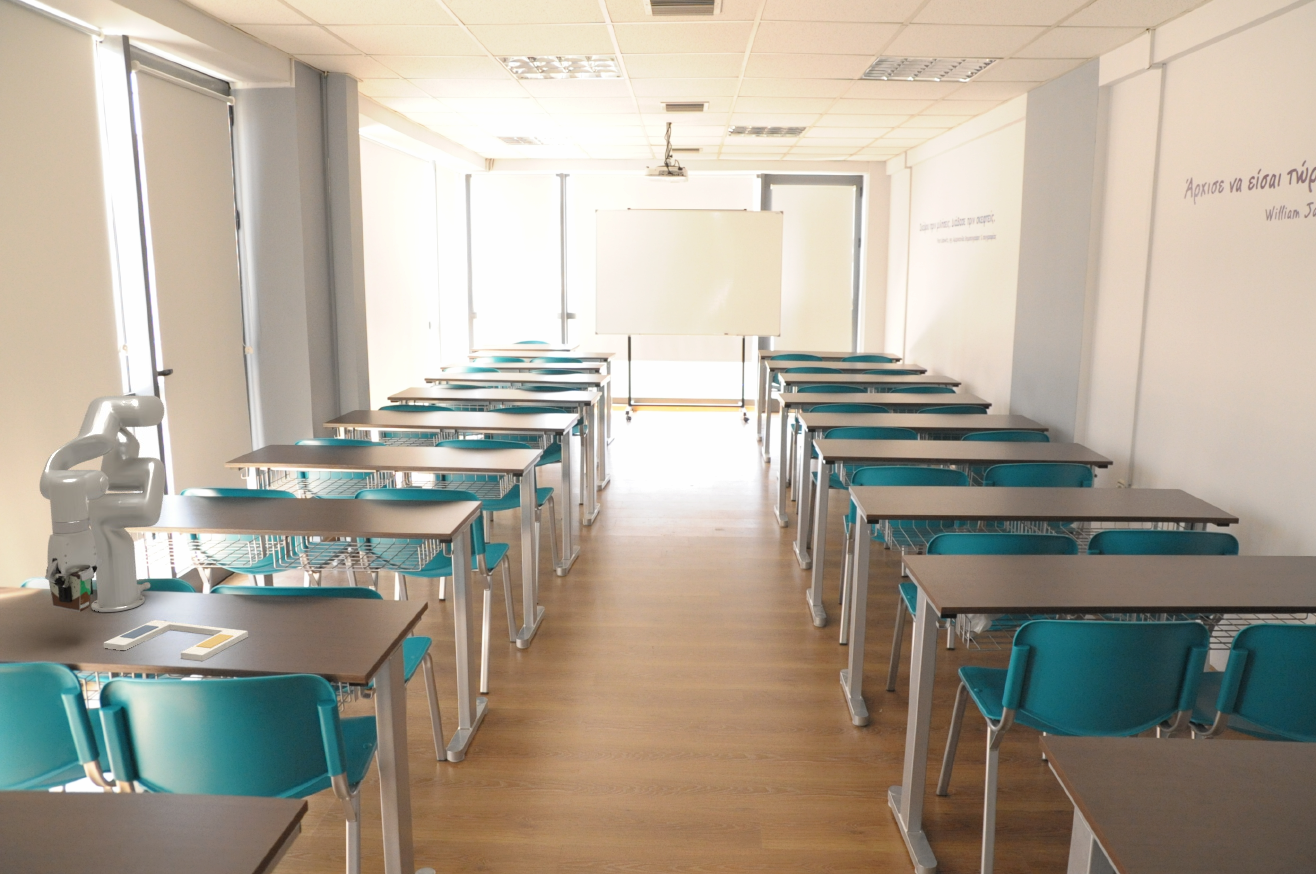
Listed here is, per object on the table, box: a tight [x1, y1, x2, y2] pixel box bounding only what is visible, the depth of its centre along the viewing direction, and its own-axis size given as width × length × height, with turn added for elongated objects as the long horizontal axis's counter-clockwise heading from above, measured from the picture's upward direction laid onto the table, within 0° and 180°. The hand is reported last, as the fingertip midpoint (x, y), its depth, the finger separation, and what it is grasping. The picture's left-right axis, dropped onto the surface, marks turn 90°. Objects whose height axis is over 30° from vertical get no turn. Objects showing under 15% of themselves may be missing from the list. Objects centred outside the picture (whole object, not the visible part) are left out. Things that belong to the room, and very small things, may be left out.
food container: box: [45, 565, 95, 613], centre depth 216 cm, size 12×6×10 cm, turn 70°
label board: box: [103, 619, 249, 662], centre depth 219 cm, size 16×28×2 cm, turn 77°
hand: (76, 597), depth 216 cm, fingers closed on food container, 5 cm apart
